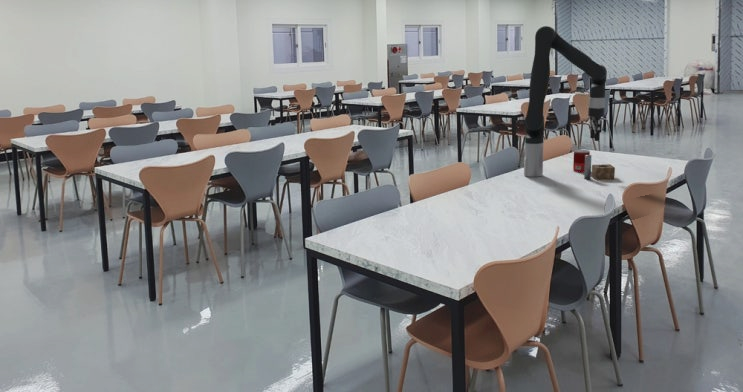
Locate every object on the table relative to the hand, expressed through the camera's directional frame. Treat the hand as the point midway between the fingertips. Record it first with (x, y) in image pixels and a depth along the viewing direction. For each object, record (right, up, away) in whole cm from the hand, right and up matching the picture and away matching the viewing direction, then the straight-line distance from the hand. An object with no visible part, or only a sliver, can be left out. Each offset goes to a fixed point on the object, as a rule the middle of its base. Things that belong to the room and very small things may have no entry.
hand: (594, 139), depth 322 cm
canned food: (+1, -15, +23) cm, 27 cm away
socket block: (+5, -19, +4) cm, 20 cm away
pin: (-3, -20, +2) cm, 20 cm away
